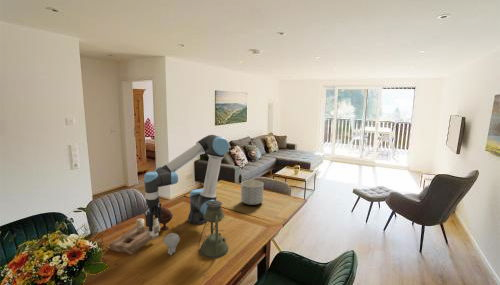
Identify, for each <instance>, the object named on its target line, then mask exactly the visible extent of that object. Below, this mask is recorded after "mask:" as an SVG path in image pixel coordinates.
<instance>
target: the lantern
mask: <svg viewBox="0 0 500 285" xmlns="http://www.w3.org/2000/svg"><path fill="white" fill-rule="evenodd" d="M206 205H207V206H208V207H207V209H206V214H204V220H205V219H206V220H207V221H206V222H205V223H204V227H203V229H202V232H201V235H200V238H199V241H198V245H200V243H201V239H202V237H203V236H202V235H203V233H206V230H205V229H206V228H207V227H208V225H207V224H208V223H207V222H209V223H210V226H209V228H210V234H208V235H206V234H204V236H205V237H206V238H205V239H204V240H203V242H202V244H201V246H200V247H198V250H199V251H198V253H199V255H201V256H203V257H205V258H208V259H218V258H222V257H224V256H226V255H227V254H228V253H229V245H228V243H227V242H226V241H227V239H226V237H225V236H222V234H221V233H220V232H224V231H225V230H224V229H223V230H219V223H220V222H221V221H222V220H224V218H225V216H226V214H225V213H223V208H222V205H223V202H222V201H220V200H217V199H216V200H213V201H208V202H207V203H206Z"/></svg>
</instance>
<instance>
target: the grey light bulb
mask: <svg viewBox="0 0 500 285" xmlns="http://www.w3.org/2000/svg"><path fill="white" fill-rule="evenodd" d="M179 242H180V236H179V234H177V233H176V232H175V233H174V232H172V233H168V234H166V235H165V237H164V239H163V243H164V245H165V246H166V247H168V249H167V254H168V255H170V256H172V255H173V254H175V253H176V248H177V247H178V244H179Z"/></svg>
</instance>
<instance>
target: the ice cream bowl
mask: <svg viewBox="0 0 500 285" xmlns="http://www.w3.org/2000/svg"><path fill="white" fill-rule="evenodd" d="M161 215H162V218H161V221H159V222H160V224H162V225H163V226H160V231H162V232H163V231H164V232H165V231H168V230H169V226H167V224H168V223H169V222H171V220H172V219H173V216H174V215H173V213H172V211H171V210H170V209H168V208H166V207H161Z"/></svg>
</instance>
